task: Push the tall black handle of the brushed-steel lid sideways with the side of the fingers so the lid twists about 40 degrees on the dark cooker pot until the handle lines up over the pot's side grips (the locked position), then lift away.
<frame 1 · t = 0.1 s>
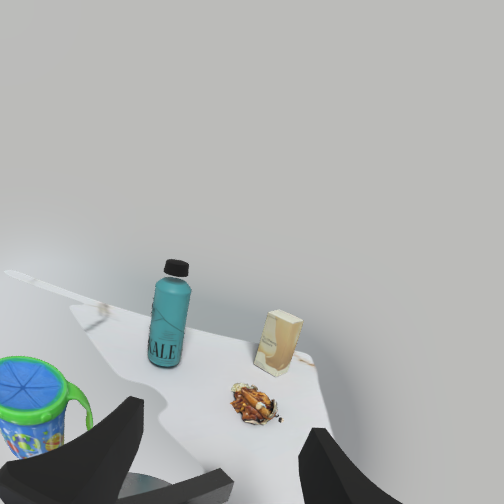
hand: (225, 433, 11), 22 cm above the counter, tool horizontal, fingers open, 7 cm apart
brown lumpy piece: (249, 406, 47), on the counter
skincare box: (270, 369, 61), on the counter
snack cup: (37, 447, 24), on the counter
beverage bottle: (162, 365, 53), on the counter
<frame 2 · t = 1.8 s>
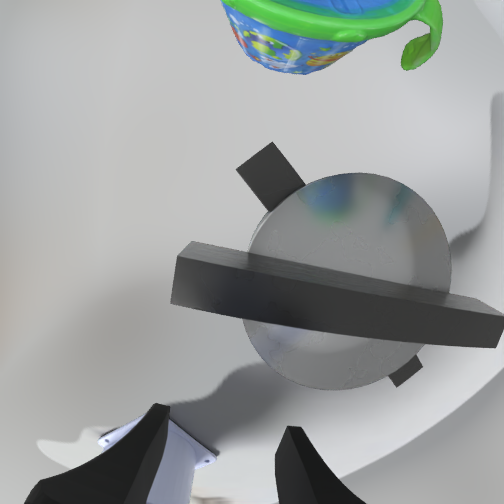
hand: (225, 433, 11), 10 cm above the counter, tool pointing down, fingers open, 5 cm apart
snack cup: (289, 34, 18), on the counter
pot: (333, 269, 21), on the counter
lid: (367, 302, 14), point 6 cm above the counter, hinge at 40.0°
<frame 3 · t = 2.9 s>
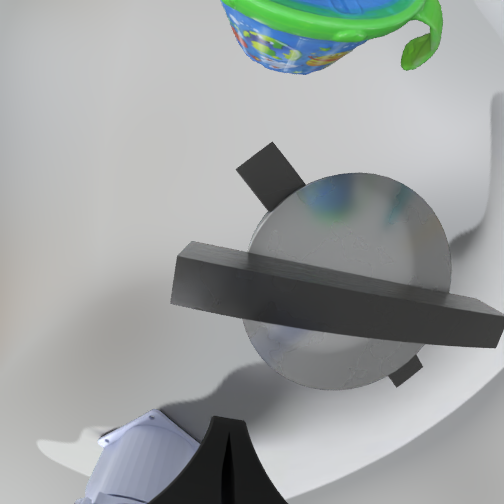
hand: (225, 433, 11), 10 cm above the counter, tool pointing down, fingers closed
snack cup: (289, 34, 18), on the counter
pot: (333, 269, 21), on the counter
lid: (367, 302, 14), point 6 cm above the counter, hinge at 40.0°
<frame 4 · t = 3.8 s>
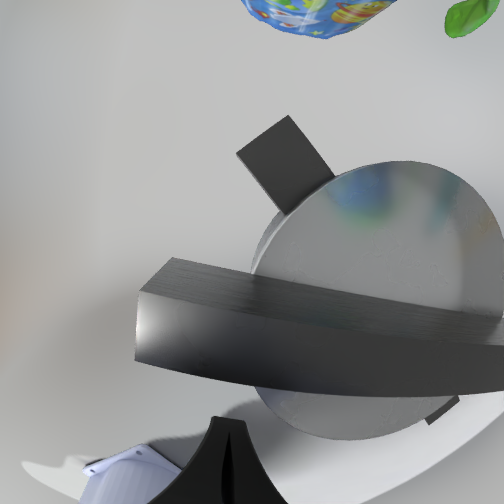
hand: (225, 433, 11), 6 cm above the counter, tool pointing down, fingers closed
pot: (361, 286, 16), on the counter
lid: (417, 341, 10), point 6 cm above the counter, hinge at 40.0°
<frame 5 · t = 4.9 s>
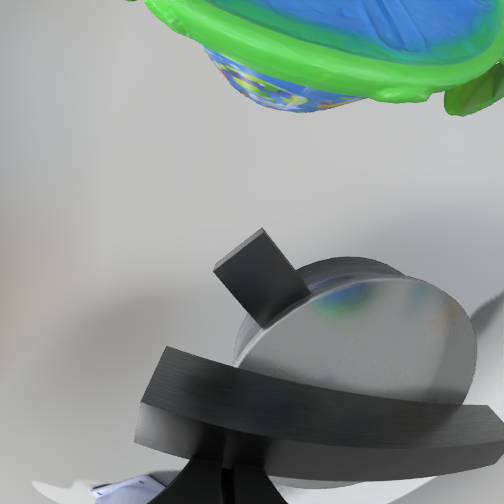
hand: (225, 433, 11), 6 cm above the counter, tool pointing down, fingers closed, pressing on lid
snack cup: (291, 51, 13), on the counter
pot: (338, 357, 17), on the counter
lid: (373, 431, 11), point 6 cm above the counter, hinge at 33.3°, touching gripper
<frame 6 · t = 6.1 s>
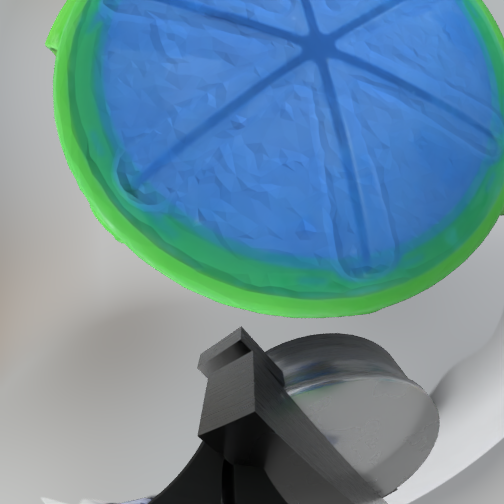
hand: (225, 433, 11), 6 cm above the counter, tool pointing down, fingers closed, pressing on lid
snack cup: (275, 127, 14), on the counter
pot: (315, 413, 18), on the counter
lid: (336, 489, 11), point 6 cm above the counter, hinge at -4.5°, touching gripper
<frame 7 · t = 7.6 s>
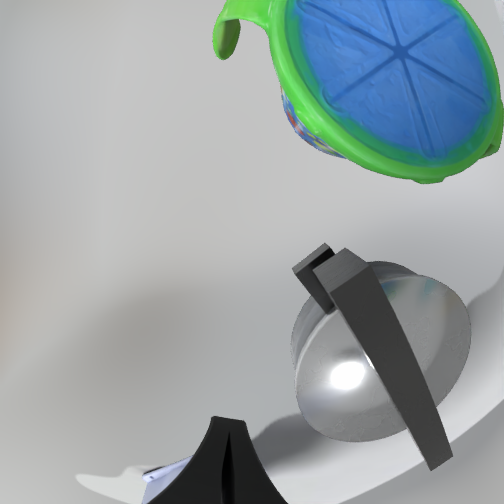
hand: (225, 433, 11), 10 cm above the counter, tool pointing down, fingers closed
snack cup: (337, 103, 18), on the counter
pot: (368, 337, 22), on the counter
lid: (402, 384, 16), point 6 cm above the counter, hinge at -4.4°
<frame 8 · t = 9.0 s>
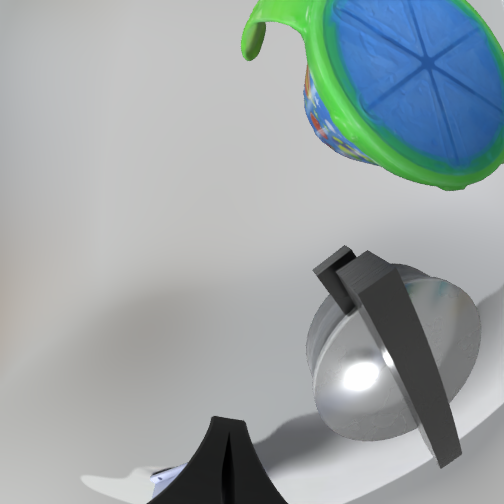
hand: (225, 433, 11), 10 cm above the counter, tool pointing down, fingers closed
snack cup: (355, 108, 19), on the counter
pot: (380, 338, 22), on the counter
lid: (416, 384, 16), point 6 cm above the counter, hinge at -4.4°
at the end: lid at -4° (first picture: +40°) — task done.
